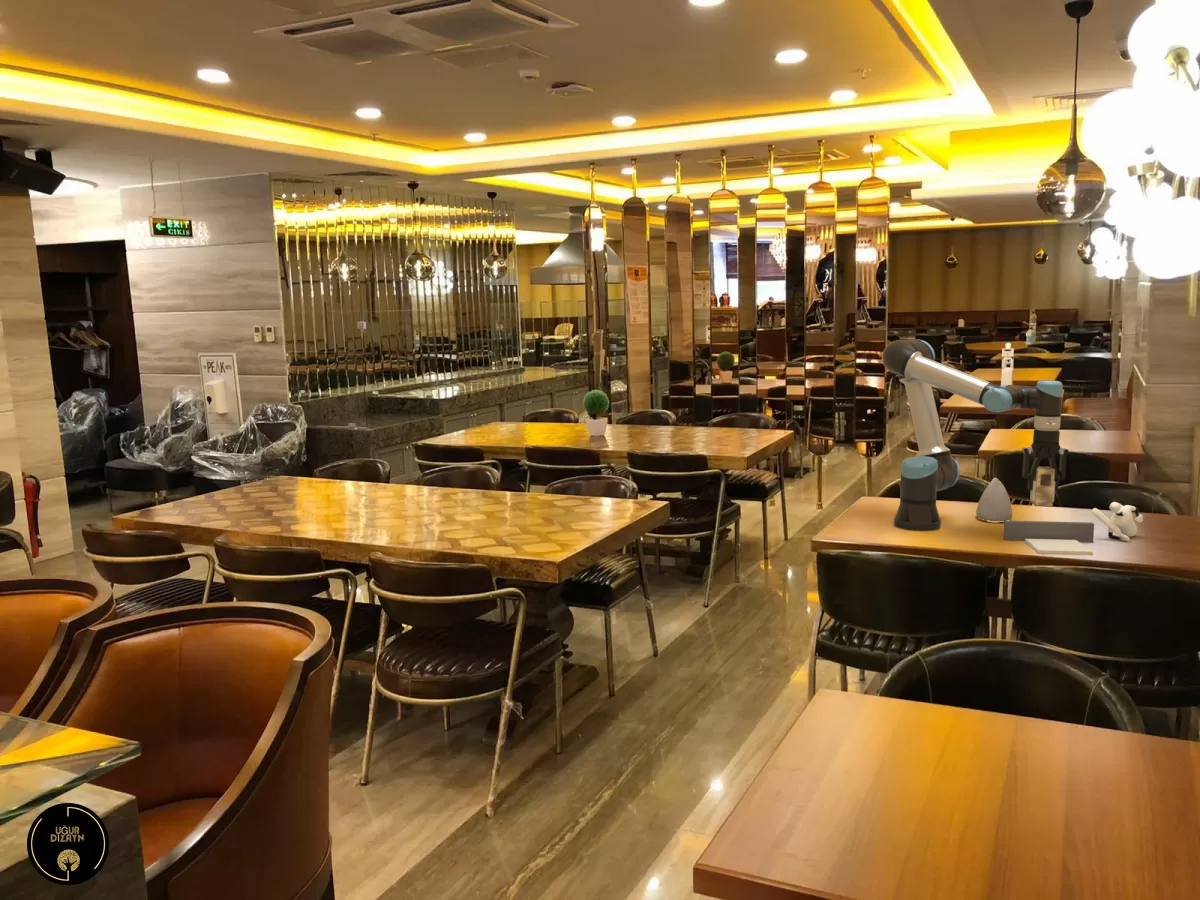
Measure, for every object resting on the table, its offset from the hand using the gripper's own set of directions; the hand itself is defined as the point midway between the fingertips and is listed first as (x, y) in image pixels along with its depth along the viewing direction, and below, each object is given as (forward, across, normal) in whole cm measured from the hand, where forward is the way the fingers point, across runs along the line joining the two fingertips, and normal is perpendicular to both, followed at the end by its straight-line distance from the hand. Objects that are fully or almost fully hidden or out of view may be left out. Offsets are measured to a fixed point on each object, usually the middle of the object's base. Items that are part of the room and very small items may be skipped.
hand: (1041, 500), depth 294 cm
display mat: (+11, 0, -17) cm, 21 cm away
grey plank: (+11, 0, -7) cm, 14 cm away
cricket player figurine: (+11, +24, -2) cm, 26 cm away
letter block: (+1, 0, 0) cm, 1 cm away
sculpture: (+12, -8, +24) cm, 28 cm away
